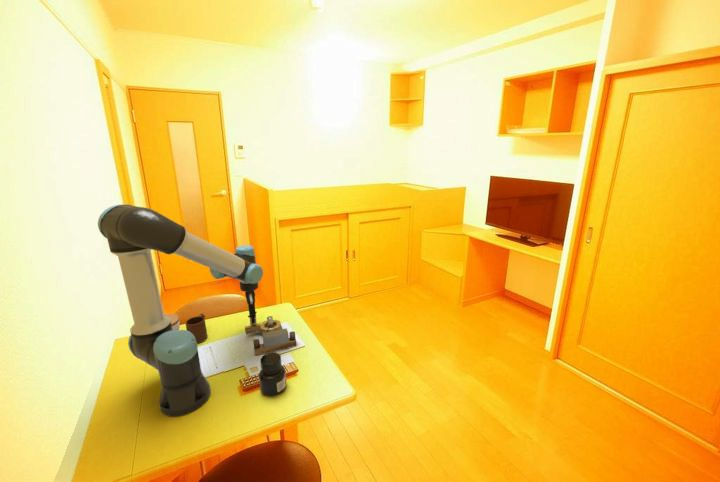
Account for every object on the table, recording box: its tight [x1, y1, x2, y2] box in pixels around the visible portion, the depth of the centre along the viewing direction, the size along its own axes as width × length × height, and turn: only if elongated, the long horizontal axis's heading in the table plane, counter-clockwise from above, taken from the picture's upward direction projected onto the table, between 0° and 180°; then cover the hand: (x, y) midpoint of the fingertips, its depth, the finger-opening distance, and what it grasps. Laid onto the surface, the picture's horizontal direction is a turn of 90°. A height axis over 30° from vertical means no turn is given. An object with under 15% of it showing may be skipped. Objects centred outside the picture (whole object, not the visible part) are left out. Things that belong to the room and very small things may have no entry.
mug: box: [185, 313, 208, 344], centre depth 144 cm, size 12×8×9 cm, turn 3°
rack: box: [252, 330, 297, 356], centre depth 135 cm, size 4×17×6 cm, turn 112°
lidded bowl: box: [164, 313, 181, 331], centre depth 142 cm, size 13×13×11 cm
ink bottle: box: [258, 351, 287, 397], centre depth 112 cm, size 10×9×12 cm
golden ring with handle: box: [244, 319, 282, 335], centre depth 147 cm, size 9×16×3 cm, turn 112°
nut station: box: [259, 315, 283, 337], centre depth 148 cm, size 10×10×7 cm
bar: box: [262, 328, 290, 348], centre depth 135 cm, size 10×4×4 cm, turn 112°
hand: (253, 328), depth 148 cm, fingers closed
